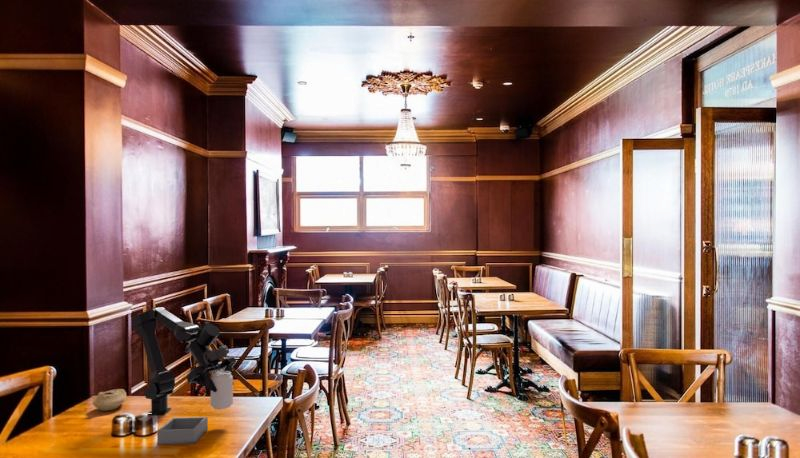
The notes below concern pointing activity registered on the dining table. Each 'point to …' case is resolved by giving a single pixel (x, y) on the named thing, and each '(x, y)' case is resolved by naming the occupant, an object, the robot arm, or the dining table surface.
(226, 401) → the can
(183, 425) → the open box
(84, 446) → the dining table surface
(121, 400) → the oil lamp
